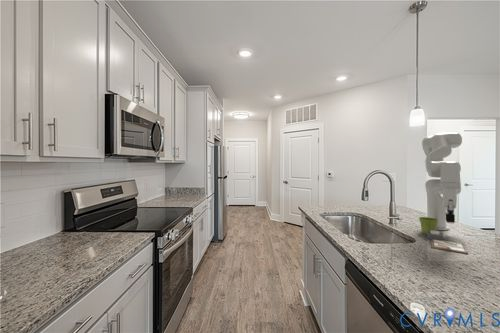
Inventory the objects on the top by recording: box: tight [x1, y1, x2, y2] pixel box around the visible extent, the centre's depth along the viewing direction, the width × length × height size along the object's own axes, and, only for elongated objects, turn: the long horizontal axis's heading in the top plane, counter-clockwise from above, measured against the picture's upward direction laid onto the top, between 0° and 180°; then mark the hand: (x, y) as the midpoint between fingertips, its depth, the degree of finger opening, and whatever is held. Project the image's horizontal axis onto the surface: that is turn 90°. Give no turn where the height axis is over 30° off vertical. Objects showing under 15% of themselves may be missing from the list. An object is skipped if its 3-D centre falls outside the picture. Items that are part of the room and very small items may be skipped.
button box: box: [426, 231, 444, 240], centre depth 126 cm, size 7×7×3 cm
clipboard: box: [431, 239, 469, 255], centre depth 114 cm, size 16×13×1 cm
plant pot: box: [418, 216, 438, 235], centre depth 136 cm, size 9×9×9 cm
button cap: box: [430, 230, 441, 235], centre depth 126 cm, size 4×4×2 cm
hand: (450, 221), depth 116 cm, fingers closed on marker, 3 cm apart
